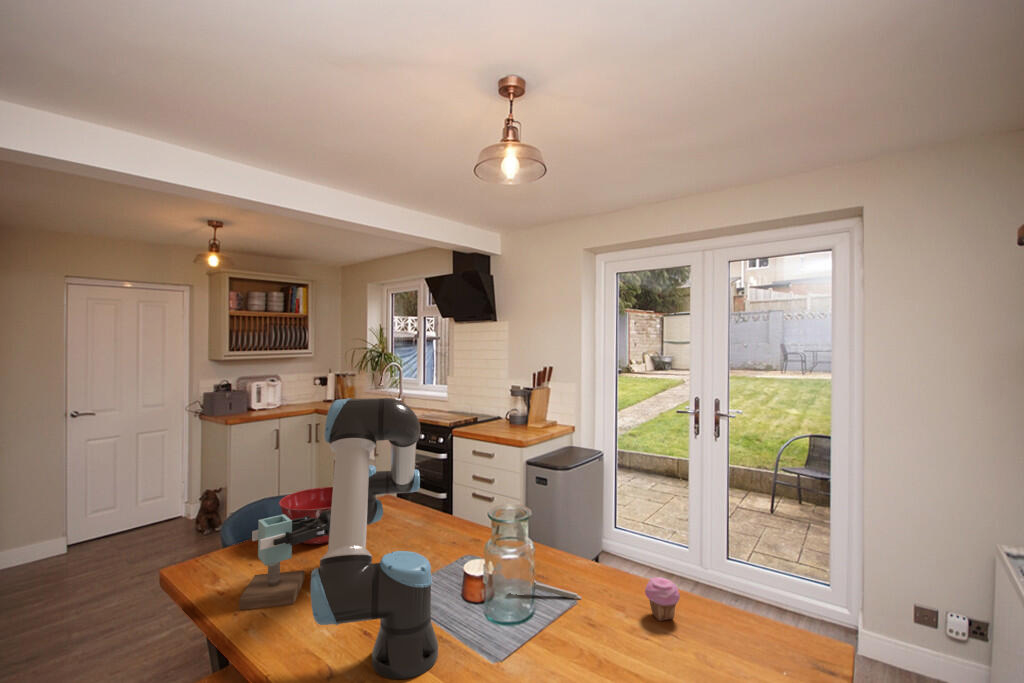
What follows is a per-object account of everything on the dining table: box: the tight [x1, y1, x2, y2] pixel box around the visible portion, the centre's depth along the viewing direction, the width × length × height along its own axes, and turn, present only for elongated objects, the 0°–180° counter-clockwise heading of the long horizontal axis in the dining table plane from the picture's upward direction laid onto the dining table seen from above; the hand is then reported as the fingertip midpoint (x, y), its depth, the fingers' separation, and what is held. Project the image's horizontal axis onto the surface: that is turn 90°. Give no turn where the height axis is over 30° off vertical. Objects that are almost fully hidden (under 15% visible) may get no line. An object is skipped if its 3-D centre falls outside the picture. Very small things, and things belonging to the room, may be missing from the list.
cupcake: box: [644, 576, 681, 622], centre depth 129 cm, size 9×9×10 cm
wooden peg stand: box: [238, 561, 305, 611], centre depth 139 cm, size 14×14×15 cm
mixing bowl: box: [278, 486, 333, 545], centre depth 181 cm, size 28×28×16 cm
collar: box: [257, 513, 293, 567], centre depth 140 cm, size 7×7×11 cm
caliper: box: [533, 579, 582, 600], centre depth 139 cm, size 20×1×6 cm, turn 81°
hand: (256, 540), depth 137 cm, fingers closed on collar, 7 cm apart
